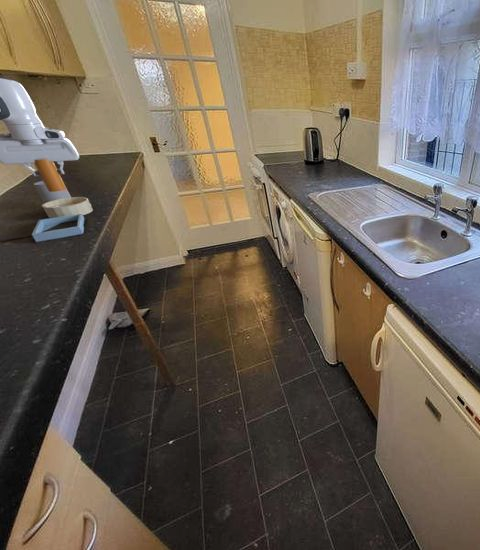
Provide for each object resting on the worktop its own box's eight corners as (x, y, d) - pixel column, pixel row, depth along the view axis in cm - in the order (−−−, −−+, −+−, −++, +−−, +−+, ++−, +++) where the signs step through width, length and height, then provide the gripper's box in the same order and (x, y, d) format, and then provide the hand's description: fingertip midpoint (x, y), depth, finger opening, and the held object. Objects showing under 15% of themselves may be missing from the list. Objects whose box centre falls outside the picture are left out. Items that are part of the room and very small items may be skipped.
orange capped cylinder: (47, 192, 107) (24, 147, 99) (49, 189, 110) (26, 145, 102) (66, 190, 109) (44, 146, 102) (67, 187, 113) (46, 145, 105)
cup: (65, 209, 119) (52, 184, 114) (42, 210, 118) (27, 185, 113) (79, 203, 127) (67, 179, 121) (57, 203, 125) (44, 180, 120)
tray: (36, 242, 94) (31, 234, 93) (42, 226, 104) (38, 219, 103) (83, 233, 100) (79, 226, 99) (85, 220, 110) (81, 213, 109)
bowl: (46, 223, 107) (39, 210, 105) (51, 213, 116) (44, 200, 113) (93, 216, 114) (87, 203, 112) (94, 207, 123) (88, 195, 120)
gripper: (-20, 135, 92) (7, 180, 99) (67, 133, 103) (85, 173, 110) (-14, 133, 97) (11, 176, 104) (69, 131, 107) (86, 170, 115)
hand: (50, 175), depth 107 cm, fingers closed on orange capped cylinder, 5 cm apart
